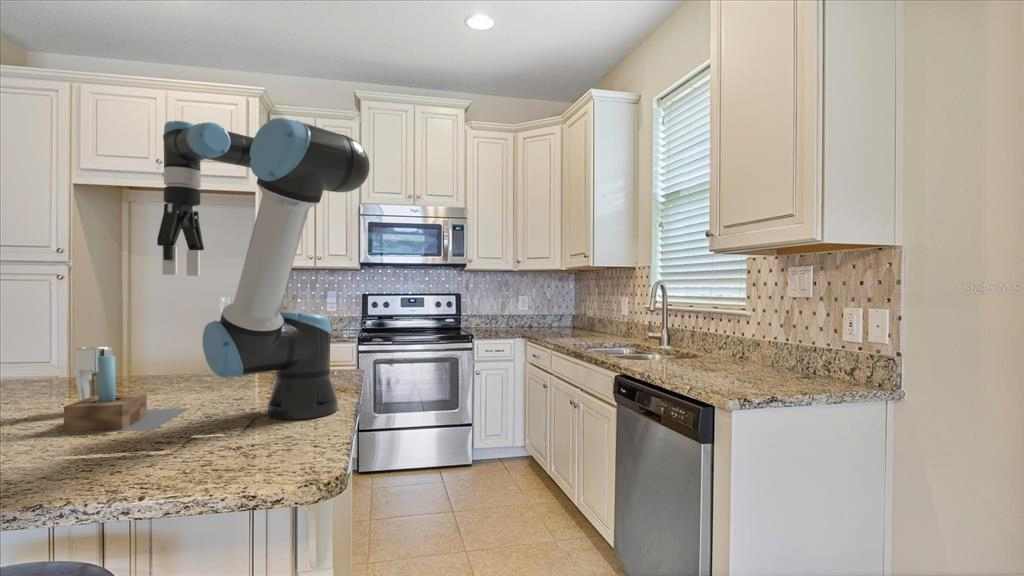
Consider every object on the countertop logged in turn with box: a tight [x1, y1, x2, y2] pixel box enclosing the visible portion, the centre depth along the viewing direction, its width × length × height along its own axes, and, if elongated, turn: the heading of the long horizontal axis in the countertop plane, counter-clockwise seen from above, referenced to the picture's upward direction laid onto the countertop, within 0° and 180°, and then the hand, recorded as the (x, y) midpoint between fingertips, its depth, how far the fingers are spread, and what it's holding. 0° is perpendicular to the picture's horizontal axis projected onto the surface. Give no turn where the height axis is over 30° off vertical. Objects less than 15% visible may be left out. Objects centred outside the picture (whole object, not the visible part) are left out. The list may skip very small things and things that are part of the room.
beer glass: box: [73, 345, 114, 401], centre depth 116 cm, size 7×7×15 cm
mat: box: [60, 407, 190, 435], centre depth 109 cm, size 16×18×1 cm
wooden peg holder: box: [63, 393, 148, 433], centre depth 106 cm, size 10×10×5 cm
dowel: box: [98, 355, 117, 403], centre depth 105 cm, size 3×3×14 cm
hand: (182, 275), depth 125 cm, fingers open, 13 cm apart
